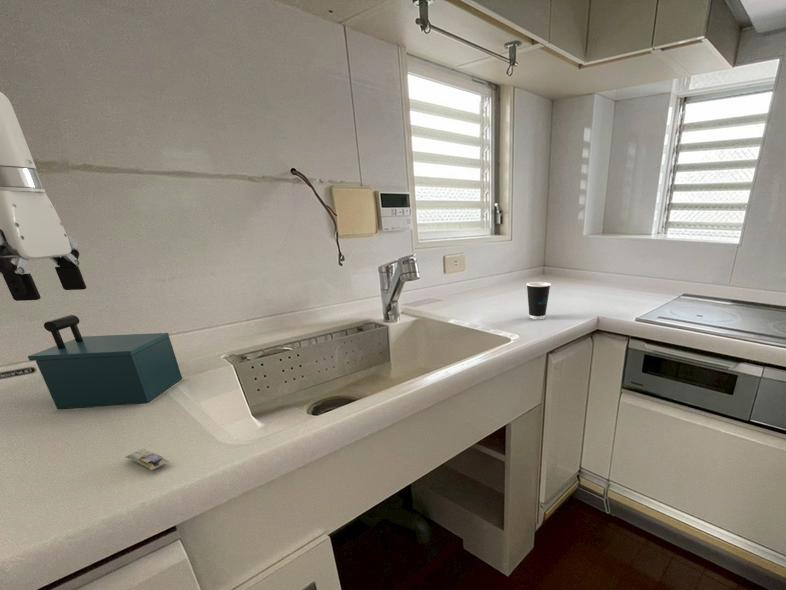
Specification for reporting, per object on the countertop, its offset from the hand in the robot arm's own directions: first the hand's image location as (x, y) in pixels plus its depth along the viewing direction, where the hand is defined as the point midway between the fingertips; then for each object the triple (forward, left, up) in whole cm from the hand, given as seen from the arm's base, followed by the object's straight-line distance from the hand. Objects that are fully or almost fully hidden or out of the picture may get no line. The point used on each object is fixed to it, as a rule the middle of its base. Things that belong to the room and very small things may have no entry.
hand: (53, 294), depth 67 cm
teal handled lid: (+5, 0, -10) cm, 11 cm away
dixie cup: (+98, +44, -19) cm, 109 cm away
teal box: (+5, 0, -18) cm, 19 cm away
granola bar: (+23, -27, -19) cm, 40 cm away
